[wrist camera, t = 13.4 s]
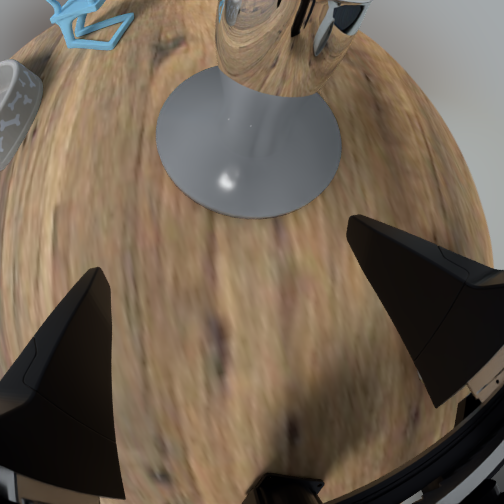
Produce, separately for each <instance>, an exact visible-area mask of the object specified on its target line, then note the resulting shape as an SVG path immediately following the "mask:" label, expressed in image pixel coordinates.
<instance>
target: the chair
mask: <svg viewBox="0 0 504 504" xmlns="http://www.w3.org/2000/svg"><path fill="white" fill-rule="evenodd" d="M46 1H47V2H48V3H50V4H51V5H52V6H53V7H54V10H55V14H54V15H53V16H52V17H51V18H50V20H51V23H56V24H58V25H59V26H60V28H61V30H62V32H63V35H64V38H65V41H66V44H67V47H68V48H86V49H97V50H112V49H114V47H115V46H116V44H117V43H118V41H119V40H120V38H121V36H122V35H123V33H124V32H125V31H126V29H127V28H128V26H129V25H130V23H131V22H132V21H133V19H134V13H127V14H123V15H120V16H116V17H113V18H110V19H107V20H104V21H101V22H98V23H95V24H93V25H90V26H87V27H84V24H85V19H86V16H87V13H90V12H94V11H97V10H98V9H99V8H100V7H101V6H102V5H103V3H104V2H105V1H106V0H68V1H67V2H66V4H65V5H63V6H62V7H61V5H60V3H59V2H57V1H56V0H46ZM77 17H78V19H77V23H76V28H75V35H76V37H79V36H82V35H85V34H88V33H91V32H93V31H96V30H99V29H101V28H104V27H107V26H110V25H113V24H116V23H119V22H122V21H124V22H123V23H122V25H121V26H120V27H119V29H118V30H117V31H116V33H115V34H114V36H113V37H112V39H111V40H110V41H109V42H102V41H93V40H84V39H75V38H74V34H73V29H72V22H73V20H74V19H75V18H77Z"/></svg>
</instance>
